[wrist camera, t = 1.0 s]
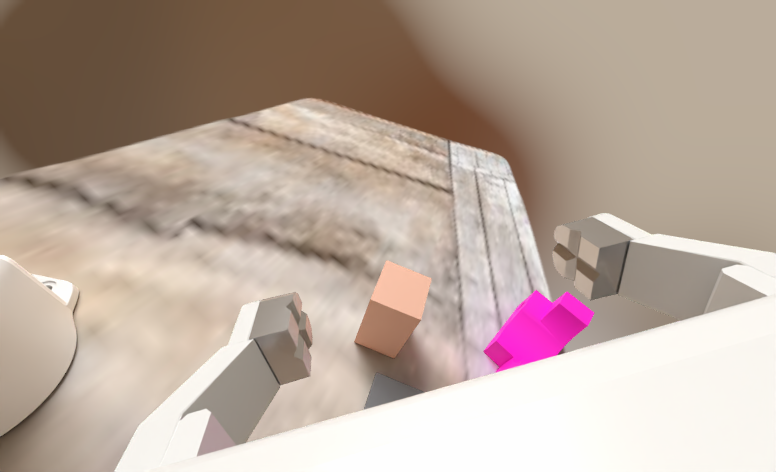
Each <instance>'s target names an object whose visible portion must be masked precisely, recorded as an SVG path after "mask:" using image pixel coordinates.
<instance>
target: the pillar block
mask: <svg viewBox="0 0 776 472" xmlns="http://www.w3.org/2000/svg"><path fill="white" fill-rule="evenodd" d="M431 279H432V278H429V277H427V276H424V275H422V274H419V273H417V272H414V271H412V270H409V269H407V268H404V267H402V266H399V265H397V264H395V263H392V262H390V261H387V260H386V263H385V265H384V268H383V270H382V273H381V275H380V277H379V280H378V282H377V285H376V287H375V290H374V292H373V295H372V297H371V299H370V302H369V305H368V307H367V310H366V313H365V315H364V318H363V320H362V323H361V326H360V328H359V331H358V333H357V336H356V339H355V341H354V342H355V343H358V344H360V345H362V346H365V347H367V348H370V349H372V350H374V351H377V352H379V353H382V354H384V355H387V356H389V357H391V358H395V357H396V356H397V354H398V353H399V351H400V350H401V348H402V347H403V345H404V344H405V342H406V341H407V340H408V338H409V337H410V335H411V334H412V332H413V331H414V329H415V328H416V326H417V325H418V324H419V322H420V321H421V318H422V314H423V310H424V306H425V302H426V299H427V295H428V291H429V287H430V283H431Z"/></svg>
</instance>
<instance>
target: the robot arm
mask: <svg viewBox="0 0 776 472" xmlns="http://www.w3.org/2000/svg"><path fill="white" fill-rule="evenodd" d="M554 239H555V240H556V241H557V243H558V244H557V245H556V246H555V248H554V249H553V257H552V259H553V263H554V266H555V268H556V269H557V271H558V272H559V274H560V275H562V276H563V277H564V278H566V279H569V280H572V281H574V287H576V289H578V290H579V291H580V292H581V293H582V294H583V295H584V296H586V297H587V298H588V299H589V300H594V299H598V298H602V297H607V296H611V295H615V294H618V295H619V296H621V297H624V298H626V299H629V300H631V301H634V302H636V303H638V304H641V305H643V306H646V307H649V308H651V309H653V310H656V311H658V312H661V313H663V314H665V315H668V316H671V317H673V318H676V319H678V320H680V321H678V322H674V323H671V324H667V325H664V326H661V327H657V328H653V329H650V330H646V331H643V332H639V333H635V334H632V335H629V336H625V337H621V338H617V339H614V340H610V341H607V342H603V343H599V344H596V345H592V346H589V347H585V348H582V349H578V350H575V351H571V352H567V353H564V354H560V355H557V356H553V357H549V358H546V359H542V360H539V361H535V362H532V363H528V364H525V365H521V366H517V367H514V368H510V369H507V370H503V371H500V372H496V373H493V374H489V375H485V376H482V377H478V378H475V379H471V380H468V381H464V382H460V383H457V384H453V385H450V386H446V387H443V388H439V389H436V390H432V391H428V392H425V393H421V394H418V395H414V396H411V397H407V398H404V399H400V400H396V401H393V402H389V403H386V404H382V405H379V406H375V407H371V408H368V409H364V410H361V411H357V412H354V413H350V414H347V415H343V416H339V417H336V418H332V419H329V420H325V421H322V422H318V423H315V424H311V425H307V426H304V427H300V428H297V429H293V430H290V431H286V432H282V433H279V434H275V435H272V436H268V437H265V438H261V439H258V440H254V441H250V442H247V443H246V441H247V440H248V438H249V436H250V435H251V433H252V432H253V430H254V428H255V427H256V425H257V424H258V422H259V420H260V419H261V417H262V416H263V414H264V412H265V411H266V409H267V408H268V406H269V404H270V403H271V401H272V400H273V398H274V396H275V395H276V393H277V392H278V390H279V388H280V385H283V384H286V383H290V382H293V381H296V380H300V379H303V378H306V377H310V371H311V355H310V353H309V350H308V349H309V348H310V347H311V345H312V330H311V325H310V321H309V318H308V316H307V314H306V313H304V312H303V311H301V307H302V302H301V299H300V297H299V295H298V294H297V293H296V292H293V293H289V294H285V295H280V296H276V297H272V298H267V299H263V300H259V301H255V302H251V303H247V304H245V305H243V306H242V308H241V310H240V313H239V316H238V319H237V321H236V324H235V327H234V329H233V332H232V335H231V337H230V340H229V343H228V345H227V346H225V347H222V348H221V349H219V350H218V351H217V352H216V353H215V354H214V355H213V356H212V357H211V358H210V359H209V360H208V361H207V362H206V363H205V364H204V365H202V366H201V367H200V368H199V369H198V370H197V371H196V372H195V373H194V374H193V375H192V376H191V377H190V378H189V379H188V380H187V381H186V382H184V383H183V384H182V385H181V386H180V387H179V388H178V389H177V390H176V391H175V392H174V393H173V394H172V395H171V396H170V397H169V398H167V399H166V400H165V401H164V402H163V403H162V404H161V405H160V406H159V407H158V408H157V409H156V410H155V411H154V412H153V413H152V414H150V415H149V416H148V417H147V418H146V419H145V420H144V421H143V422H142V423H141V424H140V425H139V426H138V428H137V430H136V432H135V434H134V435H133V437H132V439H131V441H130V443H129V445H128V447H127V448H126V450H125V452H124V454H123V456H122V458H121V460H120V462H119V463H118V465H117V467H116V469H115V471H114V472H776V253H771V252H765V251H759V250H752V249H747V248H741V247H735V246H728V245H722V244H716V243H710V242H704V241H698V240H692V239H686V238H680V237H674V236H668V235H662V234H655V235H651V234H649V233H647V232H645V231H643V230H641V229H639V228H637V227H635V226H633V225H631V224H629V223H627V222H625V221H623V220H621V219H619V218H617V217H615V216H613V215H611V214H608V213H602V214H598V215H595V216H591V217H589V218H586V219H582V220H578V221H574V222H571V223H567V224H563V225H559V226H557V227H556V229H555V232H554ZM50 289H52V290H50ZM78 295H79V290H78V288H77V287H76V286H75V285H73V284H72V283H70V282H68V281H64V280H59V279H54V278H49V277H44V276H40V275H35V274H30V273H29V272H28V271H26V270H25V269H24V268H22V267H21V266H20V265H19V264H17V263H16V262H15V261H13V260H12V259H10V258H9V257H7V256H4V255H0V436H2V435H3V434H5V433H6V432H8V431H9V430H11V429H12V428H13V427H15V426H16V425H17V424H19V423H20V422H21V421H22V420H24V419H25V418H26V417H27V416H28V415H30V414H31V413H32V412H33V411H34V410H35V409H36V408H37V407H38V406H39V405H40V404H41V403H42V402H43V401H44V400H45V399H46V398H47V397H48V396H49V395H50V394H51V392H52V391H53V390H54V389H55V387H56V386H57V385H58V383H59V382H60V381H61V379H62V378H63V376H64V374H65V373H66V371H67V369H68V367H69V365H70V363H71V361H72V358H73V356H74V352H75V348H76V341H77V334H76V328H75V324H74V320H73V310H74V307H75V305H76V302H77V299H78Z"/></svg>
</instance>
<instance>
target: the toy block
mask: <svg viewBox="0 0 776 472" xmlns="http://www.w3.org/2000/svg"><path fill="white" fill-rule="evenodd" d="M593 315H594V312H593V311H591V310H590V309H589V308H588V307H586V306H585V305H584V304H582V303H581V302H580V301H578V300H577V299H576V298H575V297H573V296H572V295H571V294H570V293H568V292H566V293H564V294H563V295H562V296H561V297H559V298H558V299H557V300H556V301H554V302H553V303H552V302H550V301H549V300H548V299H547V298H545V297H544V296H543V295H542V294H540V293H539V292H538V291H537V290H536V291H534V292H533V293H532V294H531V295H530V296H529V297H528V298H527V299H525V300H524V301H523V302H522V303H521V304H520V305H519V306H518V307H517V309H516V310H515V311H514V312H513V314H512V315H511V316H510V318H509V319H508V320H507V321H506V323H505V324H504V325H503V327H502V328H501V329H500V331H499V332H498V333H497V334H496V336H495V337H494V338H493V340H492V341H491V342H490V343H489V345H488V346H487V347H486V349H485V350H484V351H483V352H484V353H485V354H487V355H488V356H489V357H490V358H491V359H492V360H493V361H494V362H495V363H496V364H497V365H498V366H499V368H498V370H497V371H496V372H500V371H503V370H507V369H510V368H514V367H517V366H521V365H525V364H528V363H532V362H535V361H539V360H542V359H546V358H549V357H553V356H557V354H558V353H559V352H560V351H561V350H562V349H563V347H564V346H565V345H566V344H567V343H568V342H569V341H570V340H571V339H572V338H573V337H575V336H576V335H577V334H578V333H579V332H580V331H582V330H583V329H584V328H586V327H587V326H588V325H589V323H590V321H591V319H592V317H593Z"/></svg>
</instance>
